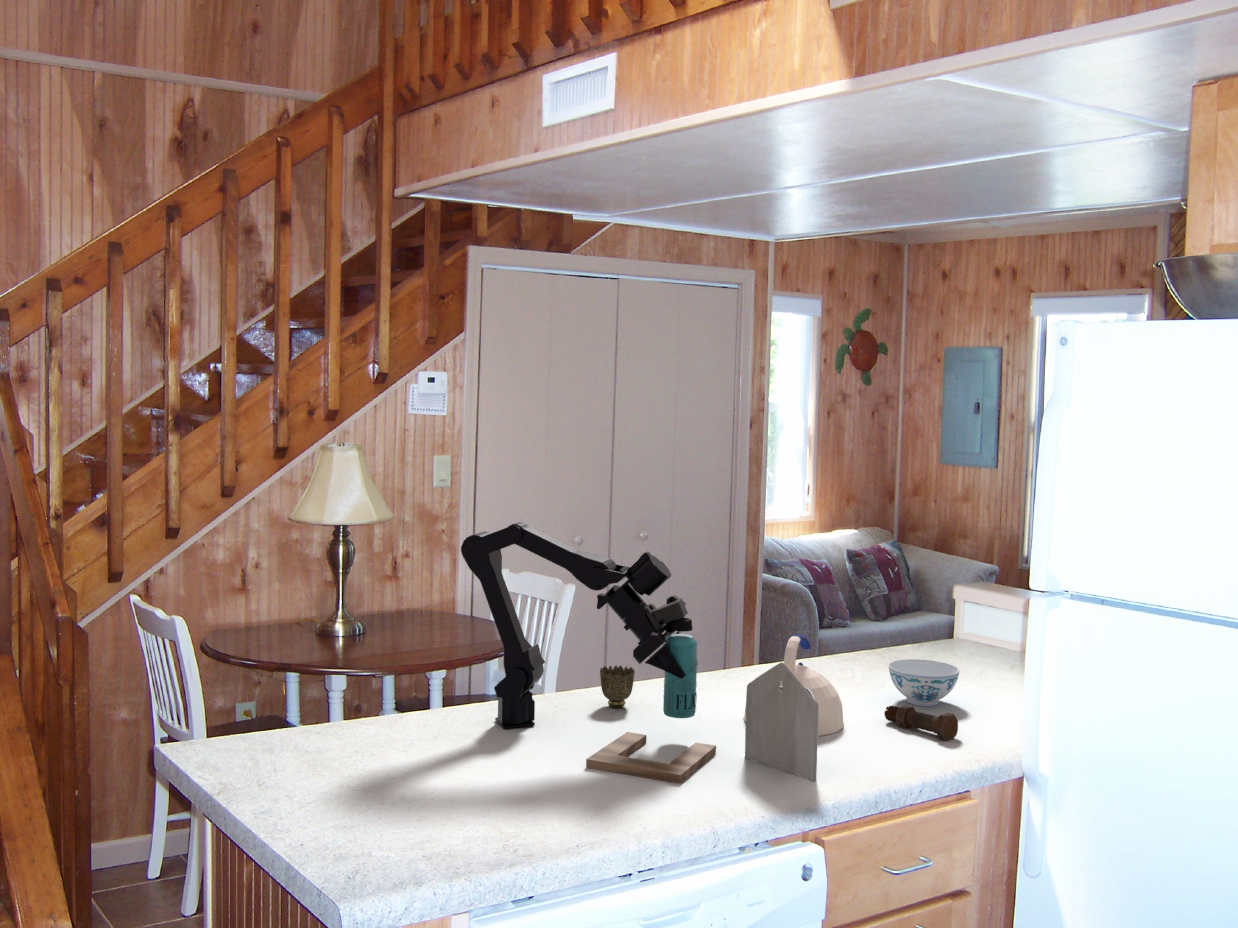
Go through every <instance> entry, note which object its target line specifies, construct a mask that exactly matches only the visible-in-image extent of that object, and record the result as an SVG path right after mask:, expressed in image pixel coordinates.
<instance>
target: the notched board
mask: <svg viewBox="0 0 1238 928" xmlns="http://www.w3.org/2000/svg"><path fill="white" fill-rule="evenodd" d="M645 744H647V734H642V733H637V732H630V731H627V732H625V733H623V734H622V735H620V736H619V737H617V738H616V739H615V740H613V741H611V742H609V744H607V745H606V746H604V747H602V748H600V750H598V751H596V752H595V753H593V754H592V755H590V756H588V757H587V758H586V759H585V760H586V761H585V764H586V765H585V768H587V769H593V770H599V771H605V772H610V773H616V774H617V773H618V774H623V775H629V776H635V777H640V778H647V779H653V780H658V781H665V782H670V783H675V784H680V785H681V784H683V782H684V781H685V780H687V778H689V777H691V775H693V774H694V772H696V771H698V769H699V768H701V767H702V766H704V764H705V763H706V762H709V760H710V759H711V758H713V757H714V756H715V755H716V754H717V745H714V744H707V743H700V742H694V743H693V744H692V745H690V747H688V748H687V749H685V750H684V751H683V752H682V753H681V754H678V756H677V757H676V758H674V759H673V760H672V761H670V762H669V763H667V762H661V761H655V760H650V759H649V760H648V759H642V758H637V757H631V756H630V755H631V754H633V753H634V752H635V751H637V750H638V749H639V748H641V747H643V746H644V745H645Z"/></svg>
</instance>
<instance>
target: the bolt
mask: <svg viewBox="0 0 1238 928" xmlns="http://www.w3.org/2000/svg"><path fill="white" fill-rule="evenodd" d="M883 713H884V714H883V715H884V717H885V719H886V720H887V721H888V722H892V723H895V724H897V725H898V727H899V728H901V729H905V730H906V729H911V728H915V729H920V730H923V731H925V732H930V733H933V734H936V736H937V738H938V740H939V741H941V742H949V741H951V740H954V739H955V738H956V736H957V734H958V732H959V721H958V718H957V717H956V715H955V714H954V713H953V712H952V713H951V712H946V713H942V714H939V715H933V714H930V713H925V712H920V711H916V709H915V707H914V706H913V705H912V704H904V705H901V706H896V705H889V706H886V707H885V711H884V712H883Z"/></svg>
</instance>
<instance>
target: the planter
mask: <svg viewBox="0 0 1238 928" xmlns="http://www.w3.org/2000/svg"><path fill="white" fill-rule="evenodd" d="M780 681H782V686H783V687H779V686H780ZM745 697H746V699H745V700H746V701H745V707H746V722H745V733H744V734H745V735H744V736H745V740H744V743H745V744H744V758H745V759H747V760H749V761H752V762H756V763H758V764H761V765H764V766H766V767H770V768H772V769H775V770H779V771H782V772H784V773H788V774H791V775H794V776H796V777H799V778H802V779H805V780H808V781H811V782H816V781H817V772H818V768H817V765H818V764H817V763H818V738H819V736H818V703H817V701H816V699H815V697H814V695H813V693H812V692H811V691H810V689H809V688H804V686H803V685H802V684H801V683H800V682H799V681H798V679H797V678H796V677H795V676H794V675H793V673H792V672H791V671H790V670H789V669H788V668H787V666H786V665H785V664H784V662H779V663H777V664H776V665H774V666H772V667H771V668H770V669H768V670H766V671H765V672H764V673H762V674H760V675H759V676H757V677H756V678H754V679H753V680H752V681H750V682H749V683H748V684H747V685H746V696H745Z"/></svg>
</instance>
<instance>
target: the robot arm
mask: <svg viewBox="0 0 1238 928" xmlns="http://www.w3.org/2000/svg"><path fill="white" fill-rule="evenodd" d="M513 545H516V546H518V547H521V548H522V549H525V550H527V551H528V552H531V553H532V554H535V555H537V556H538V557H541V558H543V559H545V560H546V561H549V562H551V563H553V564H555V565H557V566H559V567H561V568H563V569H565V570H566V571H568V572H569V573H570V574H571V575H572V576H573V577H574V578H575V579H576V580H577V581H579V582H580V583H581V584H582V585H583V586H585V587H587V588H588V589H590V590H592V591H598V592H599V591H601V590H605V589H606V588H607V587H609V586H611V585H612V584H613V586H612V587H610V589H609V590H607V591H606V592H605V593H602V592H601V593H599V594H597V595H596V597H597V603H596V609H597V610H600V609H602V608H603V607H605V606H606V605H608V607H609V608H610V609H611V610H612V611H613V612H614V614H616V616H617V617H618V618H619V619H620V621H622V623H623V624H624V626H623V628H624V630H625V631H629V630H630V632H631V633H632V634H633V635H634V636H635V637H636V638H637V639H638V641H639V642H637V645H636V647H635V648H633V649H632V650H633V652H632V657H633V658H634V659H635V661H636V662H637V663H638V665H641V664H642V663H643V662H644V661H645V662H644V663H645V664H646V665H650V666H652V667H655V668H656V669H659V670H661V671H663V672H665V671H666V672H668V673H670V674H672V675H675V676H677V677H679V678H681V679H682V678H684V677H685V676H686V674H685V672H684V671H683V669H682V668H681V666H680V665H679V663H678V662H677V660H676V659H675V657H674V656H673V654H672V653H671V650H670V643H671V641H670V640H669V641H668V642H667V643H665V641H666V640H667V639H668V638H669V637H670V636H671V635H674V634H682V631H674V630H671V623H672V621H673V620H676V619H677V620H679V619H681V618H686V615H688V614H689V612H688V610H687V607H686V604H687V603H686V601H684V600H683V598H682V597H681V598H679V597H678V596H677V595H676V594H673V595H670V596H668V597H667V598H666V604H663V605H661V606H658V607H656V605H654V604H653V603H649V604H648V603H647V602H646V601H645V600H644V599H643V598H642V597H641V596H644V595H646V596H649V597H650V596H652V594H654V593H655V592H656V591H658V589H659V588H660V587H662V586H663V585H664V584H665V583H666V582H667V581H668V580H669V579H670V578H671V577H672V573H671V571H670V569H669V568H668V566H667V565H666V564H665V562H664V561H661V560H660V559H659V558H658V557H656V556H654V555H652V554H651V552H650V551H648V550H646V551H645V552H643V553H642V554H641V556H640V557H639V558H638V559H637V560H636V562H634V563H633V564H631V566H627V565H623V564H617V563H616V562H615V561H614V559H612V558H610V557H607V556H604V555H600V554H597V553H592V552H587V551H581V550H578V549H576V548H574V547H572V546H570V545H568V544H565V543H563V542H561V541H560V540H557V539H555V538H553V537H551V536H549V535H547V534H545V533H543V532H541V531H540V530H537V529H535V528H533V527H531V526H529V525H528V524H527V523H525V522H522V521H518V522H515V523H512V524H510V525H508V526H507V527H505V528H502V529H500V530H496V531H494V532H490V531H481V532H478V533H474V534H472V535H468V536H466V538H465V539H464V540H463V541H462V545H461V546H460V552H461V555H462V557H463V560H464V561H465V563H466V565H467V567H468V568H469V570H470V571H471V572H472V574H474V576H475V577H476V578H477V579H478V580H479V582H480V584H481V587H482V590H483V593H484V597H485V598H486V602H487V604H488V607H489V611H490V612H491V616H492V619H493V621H494V622H493V623H494V624H495V627H496V630H497V632H498V636H499V639H500V641H501V644H502V647H503V662H502V663H503V669H504V674H505V675H504V676H505V677H504V678H502V679H501V680H499V682H498V683H497V684H496V685H495V686H494V687H493V689H494V692H495V695H496V697H497V717H495V719H494V720H495V721H496V722H497V724H498V725H499V726H500V727H501V728H503V729H505V730H506V729H507V730H508V729H516V728H527V727H534V726H536V725H535V724H536V723H535V722H534V721H535V716H536V715H535V711H536V709H535V708H536V705H535V704H536V703H535V702H536V701H535V700H534V699H533V692H531V690H533V689H534V687H535V684H536V683H537V682H538V681H539V680H540V679H541V678H542V677H543V675H544V672H545V671H544V670H545V669H544V664H545V663H546V661H545V659H544V658H543V657H542V654H541V649H540V646H539V644H538V643H536V644H535V645H531V644H530V643H529V642H528V640H527V638H526V636H525V634H524V632H523V628H522V625H521V623H520V620H519V617H518V615H517V612H516V609H515V606H514V604H513V601H512V598H511V595H510V594H511V593H509V589H508V586H507V583H506V581H505V578H504V575H503V568H502V567H503V556H502V555H503V554H502V550H501V549H504V548H507V547H511V546H513ZM626 578H627V580H626V581H625V582H624V583H623V584H622V585H616V584H618V583H620V582H621V581H622V580H624V579H626ZM614 584H615V585H614ZM647 658H648V659H647Z"/></svg>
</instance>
